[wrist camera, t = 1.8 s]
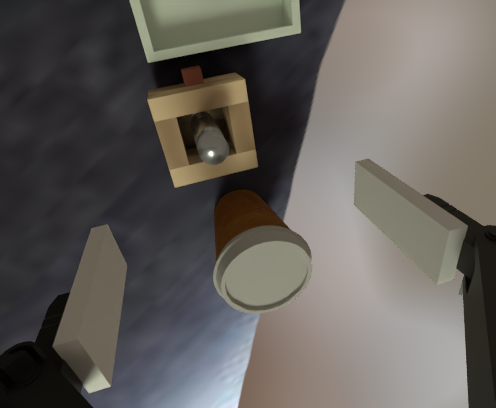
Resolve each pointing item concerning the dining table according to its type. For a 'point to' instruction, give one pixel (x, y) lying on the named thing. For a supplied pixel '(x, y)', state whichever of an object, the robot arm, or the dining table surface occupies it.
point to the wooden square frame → (197, 100)
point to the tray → (210, 24)
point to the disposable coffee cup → (257, 255)
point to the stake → (206, 135)
